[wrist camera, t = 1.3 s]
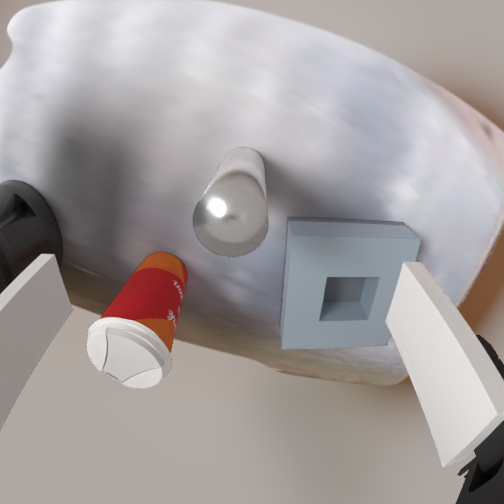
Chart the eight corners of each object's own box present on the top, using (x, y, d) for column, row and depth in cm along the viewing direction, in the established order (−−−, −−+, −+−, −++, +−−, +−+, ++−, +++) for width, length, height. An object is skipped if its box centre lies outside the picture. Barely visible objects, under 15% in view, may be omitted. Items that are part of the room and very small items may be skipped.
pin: (222, 187, 29) (195, 256, 17) (221, 146, 27) (190, 186, 15) (263, 187, 29) (267, 257, 17) (264, 147, 27) (269, 187, 15)
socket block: (279, 323, 37) (281, 349, 33) (287, 216, 31) (292, 235, 27) (376, 321, 37) (387, 344, 33) (403, 222, 30) (421, 240, 26)
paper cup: (174, 310, 37) (144, 401, 24) (123, 275, 34) (72, 358, 22) (210, 269, 34) (187, 365, 21) (154, 228, 32) (98, 310, 19)
